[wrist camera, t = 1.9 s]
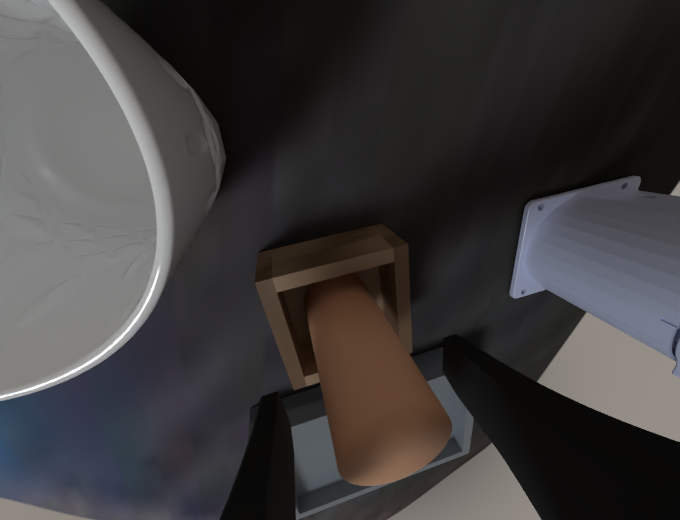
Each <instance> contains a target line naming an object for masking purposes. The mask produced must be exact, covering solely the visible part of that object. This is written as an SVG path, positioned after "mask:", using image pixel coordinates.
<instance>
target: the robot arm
mask: <svg viewBox="0 0 680 520" xmlns="http://www.w3.org/2000/svg"><path fill="white" fill-rule="evenodd" d="M640 183H641V178H640V177H639V176H630V177H626V178H622V179H617V180H613V181H609V182H605V183H601V184H597V185H593V186H589V187H585V188H581V189H577V190H573V191H568V192H564V193H560V194H556V195H552V196H548V197H544V198H540V199H536V200H532V201H530V202H528V203H527V204H526V206H525V208H524V213H523V219H522V225H521V230H520V236H519V242H518V248H517V253H516V259H515V265H514V270H513V276H512V282H511V288H510V296H512V297H513V298H519V297H523V296H526V295H529V294H533V293H536V292H539V291H542V290H546V289H547V290H549V291H550V292H552V293H554V294H556V295H558V296H559V297H561V298H563V299H565V300H567V301H568V302H570V303H572V304H574V305H576V306H577V307H579V308H581V309H583V310H585V311H586V312H588V313H590V314H592V315H594V316H595V317H597V318H599V319H601V320H603V321H604V322H606V323H608V324H610V325H612V326H613V327H615V328H617V329H619V330H621V331H622V332H624V333H626V334H628V335H630V336H631V337H633V338H635V339H637V340H639V341H640V342H642V343H644V344H646V345H648V346H649V347H651V348H653V349H655V350H657V351H658V352H660V353H662V354H664V355H666V356H668V357H669V358H671V359H673V360H675V361H677V362H676V366H675V368H674V370H673V372H672V373H673V374H674V375H675V376H677V377H679V378H680V197H678V196H672V195H665V194H658V193H652V192H645V191H638V188H639V185H640ZM442 371H443V373H444V375H445V377H446V378H447V380H448V382H449V384H450V385H451V387H452V388H453V390H454V392H455V393H456V395H457V396H458V398H459V399H460V400H461V402H462V403H463V404H464V406H465V407H466V408H467V410H468V411H469V412H470V414H471V415H472V416H473V418H474V419H475V420H476V422H477V423H478V424H479V426H480V427H481V428H482V430H483V431H484V432H485V434H486V435H487V436H488V438H489V439H490V440H491V442H492V443H493V444H494V446H495V447H496V448H497V450H498V451H499V453H500V454H501V455H502V457H503V458H504V459H505V461H506V463H507V465H508V466H509V468H510V469H511V471H512V472H513V474H514V475H515V477H516V479H517V480H518V482H519V483H520V485H521V486H522V488H523V490H524V491H525V493H526V495H527V496H528V498H529V500H530V501H531V503H532V505H533V506H534V508H535V509H536V511H537V513H538V514H539V516H540V517H541V519H542V520H680V442H677V441H674V440H671V439H669V438H666V437H663V436H660V435H658V434H655V433H652V432H649V431H646V430H644V429H641V428H638V427H636V426H633V425H631V424H628V423H626V422H623V421H621V420H618V419H616V418H613V417H611V416H608V415H606V414H604V413H601V412H599V411H596V410H594V409H592V408H589V407H587V406H585V405H583V404H580V403H578V402H576V401H574V400H572V399H570V398H568V397H566V396H563V395H561V394H559V393H557V392H555V391H553V390H551V389H549V388H547V387H545V386H543V385H541V384H539V383H537V382H536V381H534V380H532V379H530V378H528V377H526V376H524V375H523V374H521V373H519V372H517V371H515V370H514V369H512V368H510V367H509V366H507V365H505V364H504V363H502V362H500V361H498V360H497V359H495V358H493V357H492V356H490V355H489V354H487V353H485V352H484V351H482V350H480V349H479V348H477V347H476V346H474V345H472V344H471V343H469V342H468V341H466V340H464V339H463V338H461V337H460V336H458V335H452V336H449V337H446V338H443V363H442ZM220 520H296V502H295V466H294V447H293V438H292V431H291V423H290V420H289V418H288V415H287V413H286V410H285V408H284V405H283V403H282V400H281V398H280V395H279V393H278V391H277V392H274V393H271V394H268V395H265V396H262V397H261V399H260V402H259V407H258V411H257V415H256V418H255V422H254V425H253V429H252V432H251V435H250V439H249V442H248V445H247V448H246V451H245V454H244V457H243V460H242V463H241V466H240V469H239V471H238V474H237V477H236V479H235V482H234V484H233V487H232V490H231V492H230V495H229V498H228V500H227V503H226V505H225V508H224V510H223V512H222V515H221V517H220Z"/></svg>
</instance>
